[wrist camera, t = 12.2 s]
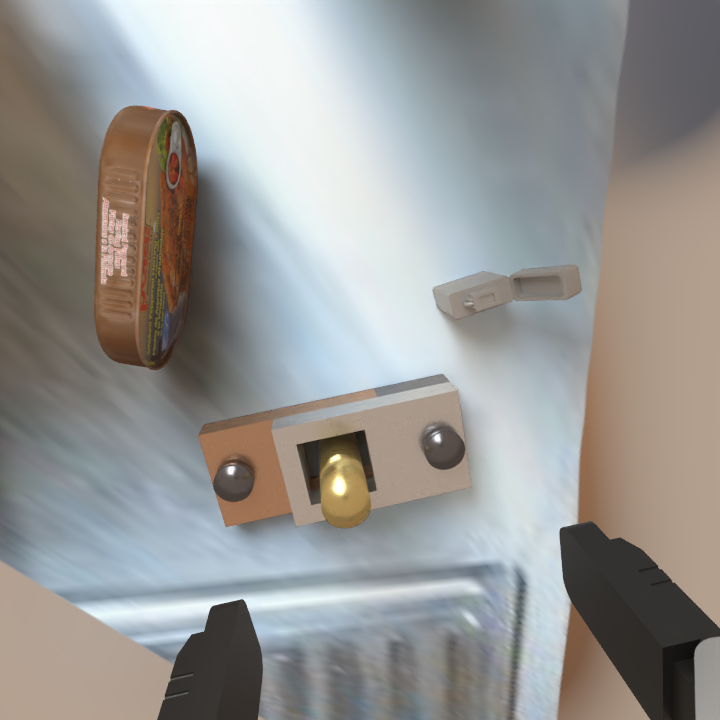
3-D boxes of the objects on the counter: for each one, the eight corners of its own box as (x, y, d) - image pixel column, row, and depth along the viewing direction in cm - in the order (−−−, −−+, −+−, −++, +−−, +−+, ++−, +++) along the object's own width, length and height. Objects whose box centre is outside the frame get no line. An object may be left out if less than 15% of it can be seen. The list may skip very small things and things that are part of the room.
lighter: (437, 310, 36) (472, 330, 28) (431, 287, 35) (466, 302, 28) (528, 280, 36) (587, 293, 28) (523, 258, 36) (582, 264, 28)
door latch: (203, 424, 36) (187, 453, 31) (442, 373, 37) (462, 394, 32) (230, 512, 38) (218, 552, 33) (455, 462, 39) (476, 494, 34)
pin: (314, 430, 37) (316, 489, 29) (352, 422, 37) (366, 478, 29) (322, 464, 38) (326, 533, 29) (360, 456, 38) (375, 522, 30)
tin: (183, 353, 35) (145, 389, 27) (138, 346, 34) (85, 381, 26) (203, 129, 31) (166, 93, 23) (153, 119, 31) (97, 79, 23)
